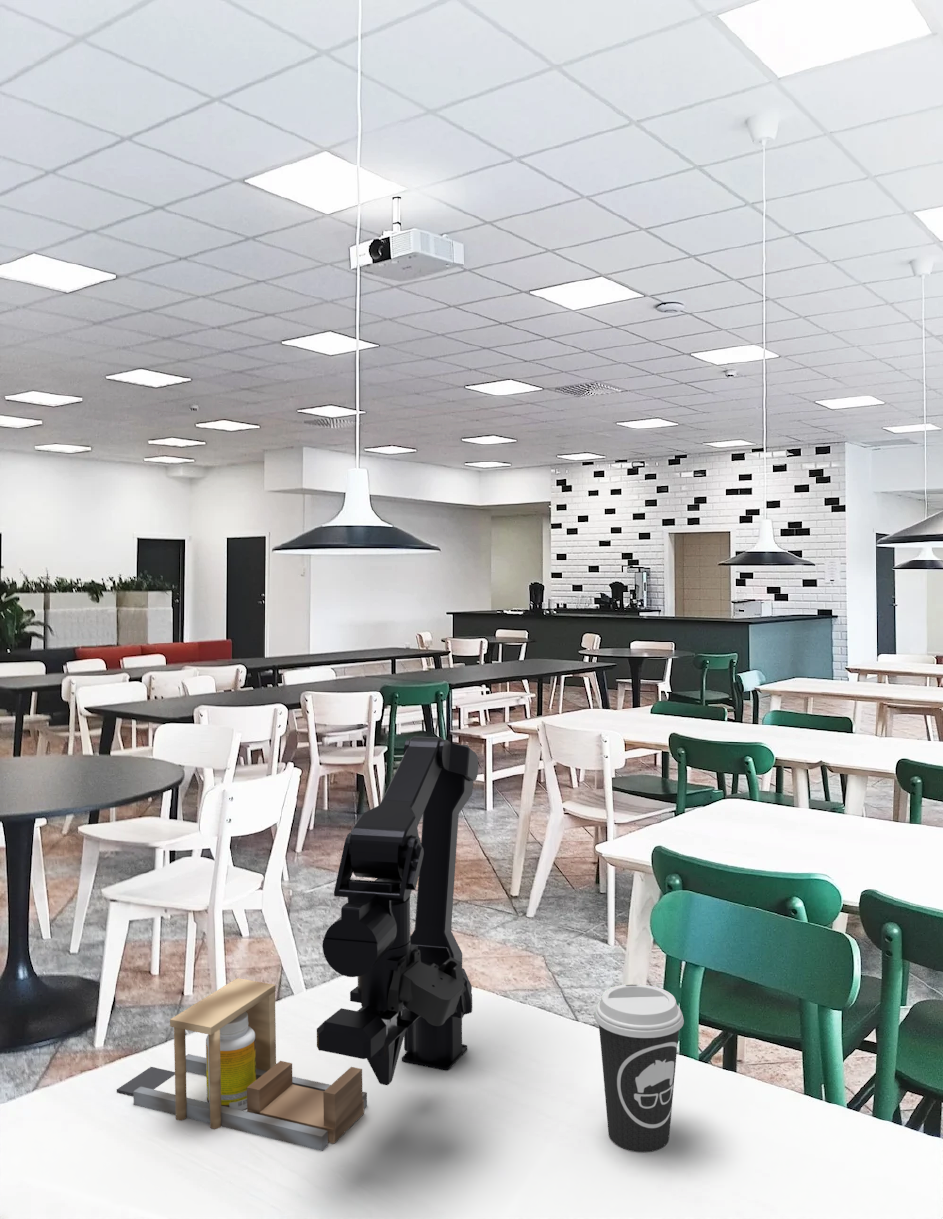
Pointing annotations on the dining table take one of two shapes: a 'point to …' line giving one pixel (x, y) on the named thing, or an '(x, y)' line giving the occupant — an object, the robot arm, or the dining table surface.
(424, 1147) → the dining table surface
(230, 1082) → the supplement bottle
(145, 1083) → the pad
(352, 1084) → the sled
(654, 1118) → the coffee cup
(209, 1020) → the tunnel track
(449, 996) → the robot arm
